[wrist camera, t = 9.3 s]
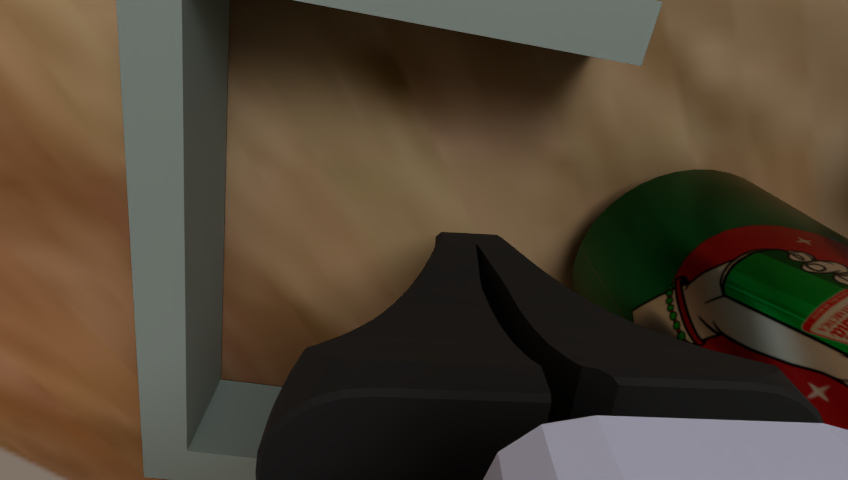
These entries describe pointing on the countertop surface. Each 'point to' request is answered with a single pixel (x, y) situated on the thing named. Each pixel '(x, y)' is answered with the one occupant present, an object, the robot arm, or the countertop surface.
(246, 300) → the countertop surface
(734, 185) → the soda can
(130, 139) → the corral
